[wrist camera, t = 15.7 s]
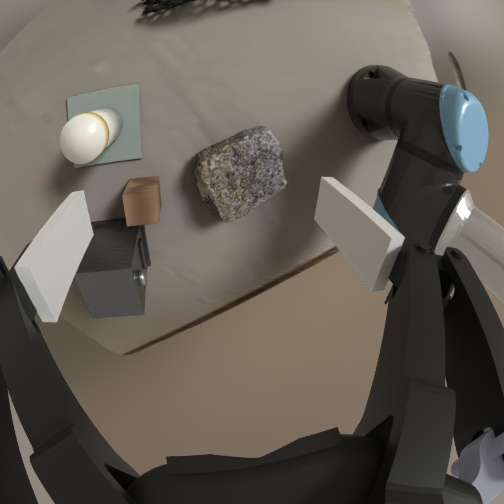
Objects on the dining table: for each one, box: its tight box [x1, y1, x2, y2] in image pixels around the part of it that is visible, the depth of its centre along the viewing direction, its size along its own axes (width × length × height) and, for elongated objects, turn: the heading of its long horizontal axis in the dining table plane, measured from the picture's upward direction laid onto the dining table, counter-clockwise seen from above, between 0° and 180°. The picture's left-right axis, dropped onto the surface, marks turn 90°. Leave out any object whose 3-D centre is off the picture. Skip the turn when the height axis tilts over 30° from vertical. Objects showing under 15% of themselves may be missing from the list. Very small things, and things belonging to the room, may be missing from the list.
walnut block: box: [122, 176, 161, 226], centre depth 39 cm, size 5×5×7 cm
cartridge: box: [60, 107, 123, 164], centre depth 29 cm, size 6×6×11 cm
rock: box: [194, 126, 287, 222], centre depth 42 cm, size 13×6×15 cm
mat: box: [67, 84, 142, 168], centre depth 33 cm, size 12×12×1 cm
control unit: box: [74, 218, 151, 318], centre depth 40 cm, size 10×10×14 cm
